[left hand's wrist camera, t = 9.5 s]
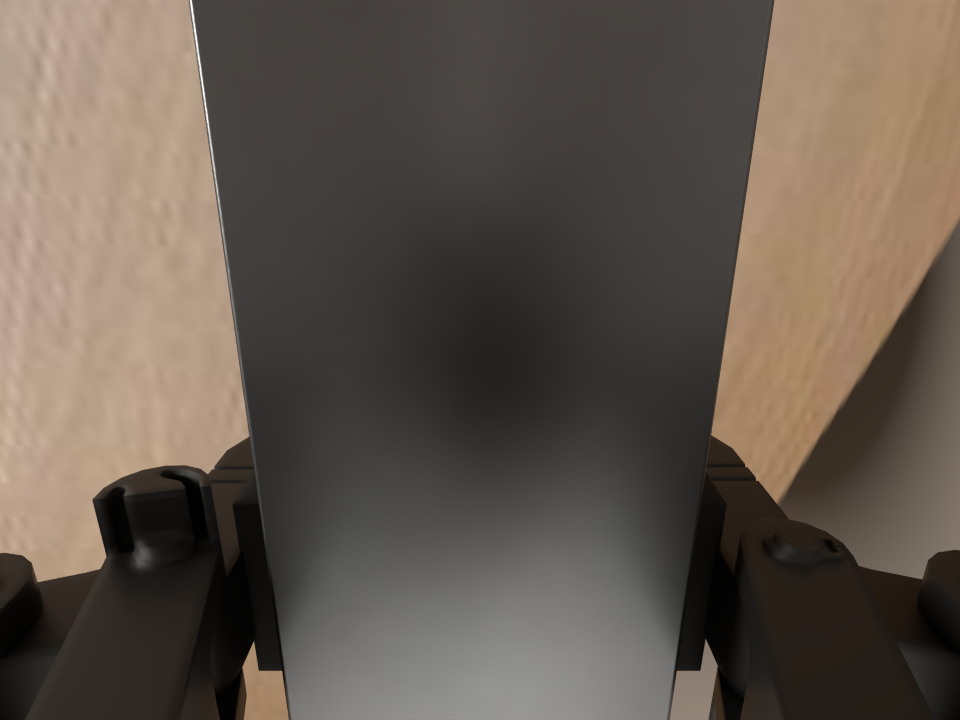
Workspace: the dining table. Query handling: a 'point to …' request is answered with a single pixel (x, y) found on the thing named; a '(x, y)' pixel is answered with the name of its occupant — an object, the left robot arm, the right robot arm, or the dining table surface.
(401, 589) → the bar
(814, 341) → the dining table surface
